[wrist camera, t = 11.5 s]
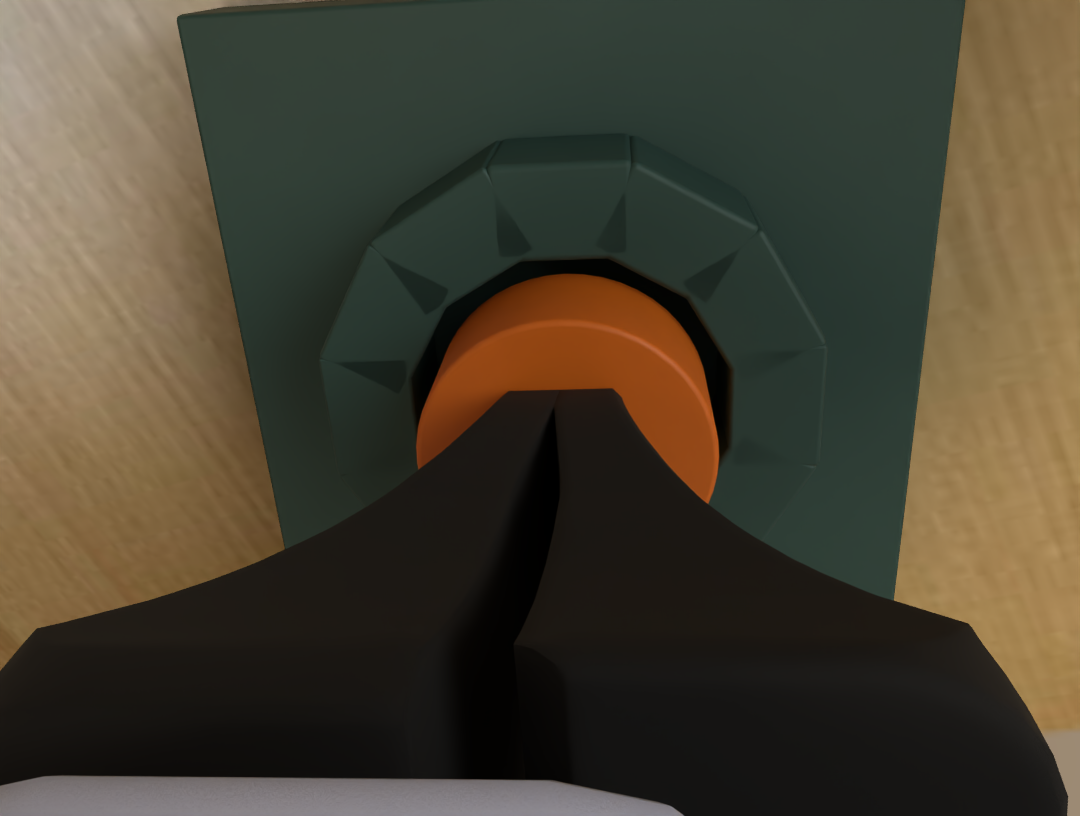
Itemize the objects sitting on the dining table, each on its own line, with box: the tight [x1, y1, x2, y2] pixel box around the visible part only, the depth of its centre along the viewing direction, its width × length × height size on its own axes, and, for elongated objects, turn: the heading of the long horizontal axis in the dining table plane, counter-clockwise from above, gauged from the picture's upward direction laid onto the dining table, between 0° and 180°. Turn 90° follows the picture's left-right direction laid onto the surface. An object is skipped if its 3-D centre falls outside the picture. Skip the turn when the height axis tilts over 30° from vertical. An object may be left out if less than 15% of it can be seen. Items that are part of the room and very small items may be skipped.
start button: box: [416, 274, 719, 504], centre depth 12 cm, size 4×4×2 cm
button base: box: [177, 0, 965, 601], centre depth 14 cm, size 10×10×4 cm
